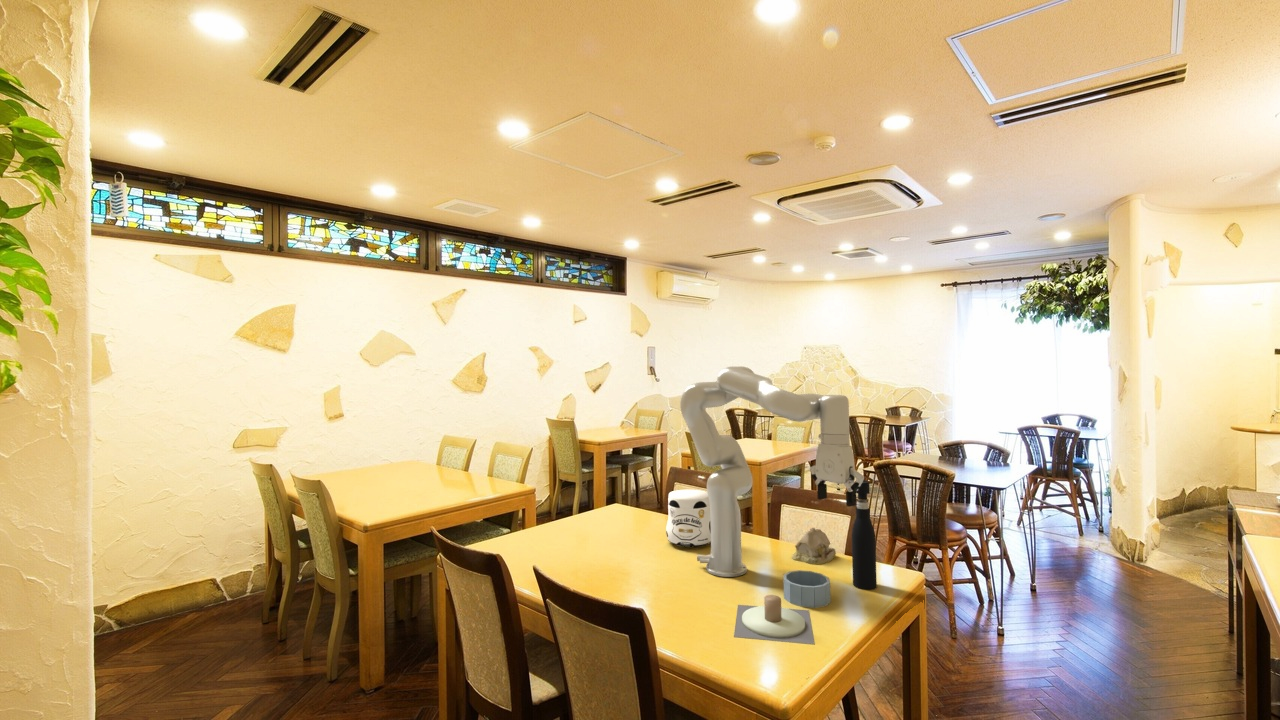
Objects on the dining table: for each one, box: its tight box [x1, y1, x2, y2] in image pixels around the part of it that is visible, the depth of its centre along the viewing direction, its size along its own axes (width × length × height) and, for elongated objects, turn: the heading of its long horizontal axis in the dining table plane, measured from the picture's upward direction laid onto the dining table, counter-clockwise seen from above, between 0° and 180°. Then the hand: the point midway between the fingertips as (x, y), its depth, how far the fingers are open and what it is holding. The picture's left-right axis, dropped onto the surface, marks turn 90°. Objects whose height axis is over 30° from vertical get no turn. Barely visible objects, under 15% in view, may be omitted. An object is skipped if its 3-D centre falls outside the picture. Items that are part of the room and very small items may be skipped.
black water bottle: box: [851, 479, 878, 591], centre depth 159 cm, size 6×6×30 cm
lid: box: [742, 594, 805, 638], centre depth 134 cm, size 15×15×6 cm
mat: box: [733, 604, 816, 645], centre depth 134 cm, size 18×18×1 cm
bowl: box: [783, 569, 832, 609], centre depth 149 cm, size 12×12×6 cm
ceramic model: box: [791, 527, 837, 565], centre depth 183 cm, size 14×11×10 cm
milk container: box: [665, 489, 711, 548], centre depth 200 cm, size 17×17×18 cm
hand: (836, 502), depth 151 cm, fingers open, 9 cm apart
